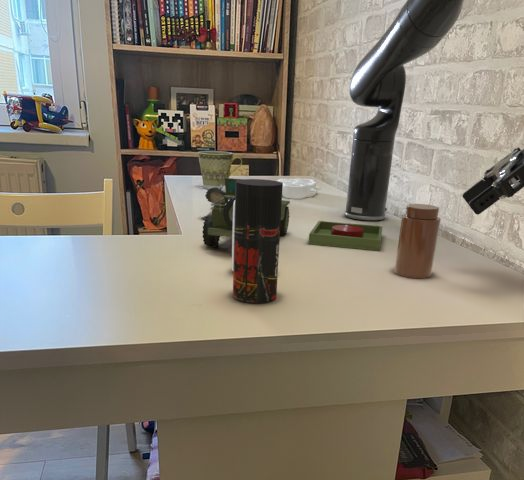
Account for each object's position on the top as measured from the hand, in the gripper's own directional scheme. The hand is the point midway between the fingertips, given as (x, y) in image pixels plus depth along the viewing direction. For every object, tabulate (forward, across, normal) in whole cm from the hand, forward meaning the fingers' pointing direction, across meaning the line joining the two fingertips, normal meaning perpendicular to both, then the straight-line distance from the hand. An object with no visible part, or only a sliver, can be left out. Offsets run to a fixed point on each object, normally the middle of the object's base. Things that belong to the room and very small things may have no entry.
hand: (468, 205), depth 84 cm
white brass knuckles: (+36, +74, +19) cm, 84 cm away
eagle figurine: (+41, +29, +25) cm, 56 cm away
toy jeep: (+34, +11, +18) cm, 40 cm away
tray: (+21, +20, +5) cm, 30 cm away
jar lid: (+20, +20, +7) cm, 29 cm away
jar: (+13, 0, -3) cm, 13 cm away
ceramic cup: (+51, +73, +35) cm, 96 cm away
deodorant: (+28, -20, +12) cm, 36 cm away
